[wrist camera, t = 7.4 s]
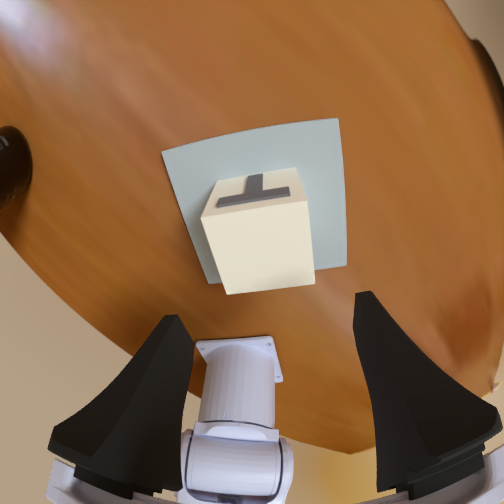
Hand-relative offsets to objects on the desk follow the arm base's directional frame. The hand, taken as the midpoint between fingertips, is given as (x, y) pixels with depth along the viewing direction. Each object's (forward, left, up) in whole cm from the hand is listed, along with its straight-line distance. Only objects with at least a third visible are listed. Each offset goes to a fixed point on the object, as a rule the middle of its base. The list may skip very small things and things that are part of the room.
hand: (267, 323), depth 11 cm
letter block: (+1, 0, -9) cm, 9 cm away
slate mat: (0, 0, -9) cm, 9 cm away
